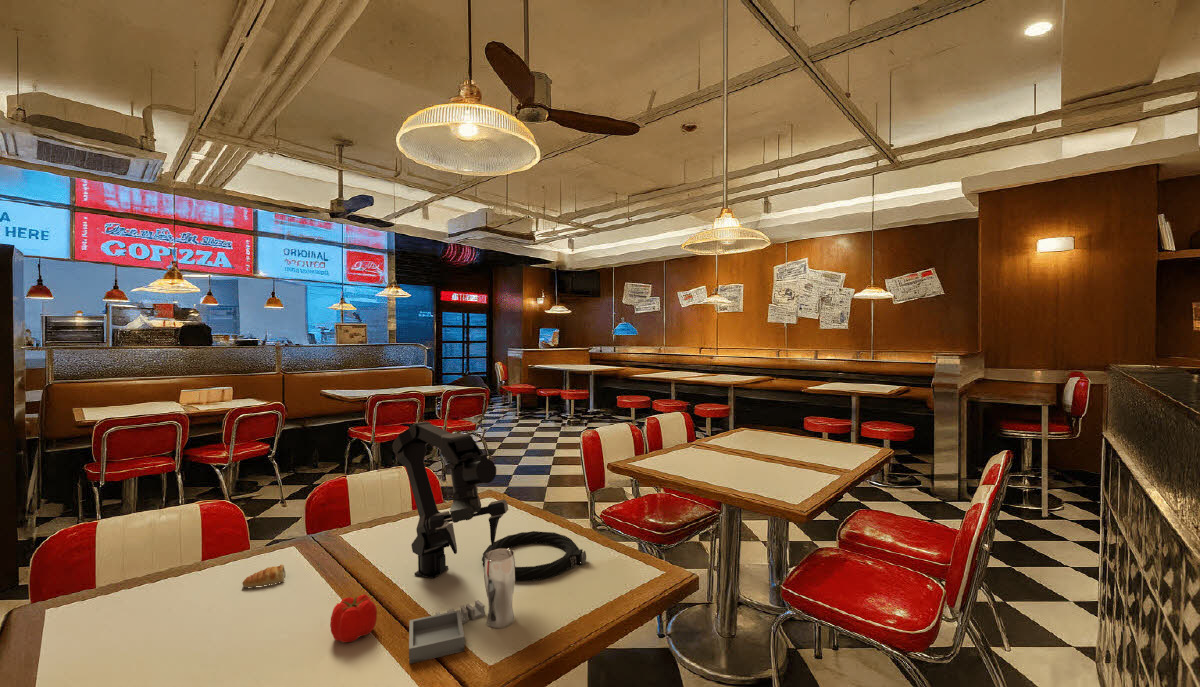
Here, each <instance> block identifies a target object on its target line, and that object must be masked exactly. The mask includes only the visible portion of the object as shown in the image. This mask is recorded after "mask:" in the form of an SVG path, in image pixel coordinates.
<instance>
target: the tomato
mask: <svg viewBox="0 0 1200 687" xmlns="http://www.w3.org/2000/svg"><path fill="white" fill-rule="evenodd" d="M377 615H378V611H377V605H376V604H375V602H373V600H372V601H371V599H370V597H369V596H368V595H367V594H360V595H359V596H357V595H356V596H355V598H354V597H351V596H350V597H345V598H342V599H341V601H339V603H338V602H337V603H336V604H335V606H334V607H333V610H332V613H331V615H330V632H331V635H332V637H333V639H334V640H335V641H336V642H342V643H344V644H345V643H352V642H354V641H356V640H357V639H358V638H359V637H364V636H367V635H369V634H370V633H371V632H372V631H373V629H374V628H375V626H376V623H377Z"/></svg>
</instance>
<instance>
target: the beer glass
mask: <svg viewBox="0 0 1200 687" xmlns="http://www.w3.org/2000/svg"><path fill="white" fill-rule="evenodd" d="M515 567H516V558H515V551H514V550H513V549H510V548H507V549H506V548H500V549H494V550H491V551H489V552H487V553H486V554H485V564H484V566H483V580H484V588H485V593H486V598H487V605H488V610H487V617H486V618H487V619H486V624H487V625H488V626H489V627H490V628H493V629H503V628H507V627H509V626H511V625H512V624H513V623H514V621H515V614H514V608H513V597H514V592H515V584H516V581H515V576H516V569H515Z"/></svg>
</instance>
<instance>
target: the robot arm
mask: <svg viewBox="0 0 1200 687" xmlns="http://www.w3.org/2000/svg"><path fill="white" fill-rule="evenodd" d="M428 444H429V445H431V446H433V447H435V448H437V449H439V450H440V455H441V456H442V457H443V458H445V459H446V460H447V461H449V463H448V464H447V465H446V467H445V469H446V471H450V477H451V482H452V489H453V490H452V491H453V493H452V494H453V495H452V498H453V500H452V503H451V506H450V508H449V510H447V511H440V510H438V507H437V503H436V500H435V496H434V493H433V489H432V486H431V482H430V480H429V475H428V473H427V469H426V466H425V458H426V454H427V445H428ZM392 451H393V453H394V455H395V457H396V460H397V461H398V462H399V463H400V464H401V465H402V466H403V467H404V468H405V470H406V472H407V477H408V481H409V485H410V487H411V491H412V494H413V499H414V501H415V505H416V509H417V512H418V517H419V518H418V523H417V524H416V529H415V530H416V534H417V536H416V537H415V539H414V540H413V541H412V543H411V551H412V553H414V554H415V555H417V565H418V567H417V571H415V572H414V576H418V577H423V578H430V579H436V578H437V577H438V576H439V575H441V574H442V573H443V572H444V571H446V570H448V569H449V566H448V565H446V563H447V562H446V560H447V558H446V554H445V548H448V547H450V548H451V550H452V552H453V554H454V555H457V553H458V547H457V540H456V536H455V529H454V525H453V524H454V523H458V522H462V521H471V520H472V519H473V518H474V517H475V518H476V517H479V516H485V515H488V514H489V516H490V517H489V518H488V522H489V530H490V531H489V532H490V533H489V534H490V535H489V536H490V542H491V544H492V546H494V542H495V541H496V534H497V529H498V525H499V522H500V519H501V518H502V517H503V516H504V514H507V512H508V511H509V506H508V501H507V500H506V499H500V500H496V501H495V500H494V501H491V502H489V503H488V505H487V506H482V503H481V500H480V496H479V493H478V491H479V489H478V485H482V484H483V485H484V484H490V483H492V481H494V480H495V478H496V475H497V466H496V465H495V463H494V462H493V461H492V460H491V459H489V458H488V454H486V453H485V454H483V450H482V449H480V447H479V445H478V444H477V443H476V441H475V440H474V439H473V436H472V435H470V434H468V433H454V432H453V433H451V432H449V431H447V430H444V429H442V428H440V427H438V426H435V425H433V424H432V423H431V422H429V421H422V422H414V423H413V424H410V426H409V427H408V428H407V429H406V430H404V431H403V432H401V433H399V434H398V435H397V436H396V438H395V439H394V440H393V442H392ZM491 544H490V545H491Z"/></svg>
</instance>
